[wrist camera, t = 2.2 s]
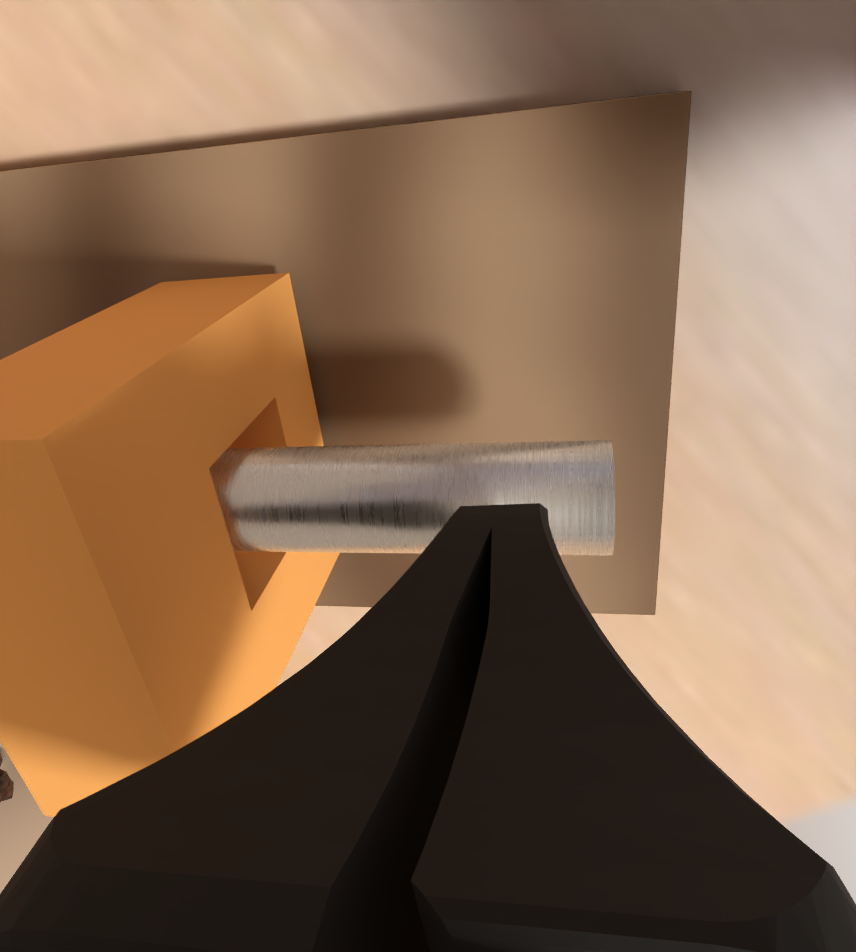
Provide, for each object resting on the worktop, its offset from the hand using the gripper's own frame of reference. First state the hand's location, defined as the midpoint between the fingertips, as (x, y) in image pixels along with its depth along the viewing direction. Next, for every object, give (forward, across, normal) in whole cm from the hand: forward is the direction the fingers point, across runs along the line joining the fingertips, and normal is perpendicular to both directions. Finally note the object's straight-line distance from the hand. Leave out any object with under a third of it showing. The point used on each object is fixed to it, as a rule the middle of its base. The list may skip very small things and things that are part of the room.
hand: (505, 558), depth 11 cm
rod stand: (+7, +10, 0) cm, 12 cm away
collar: (+5, +6, 0) cm, 8 cm away
